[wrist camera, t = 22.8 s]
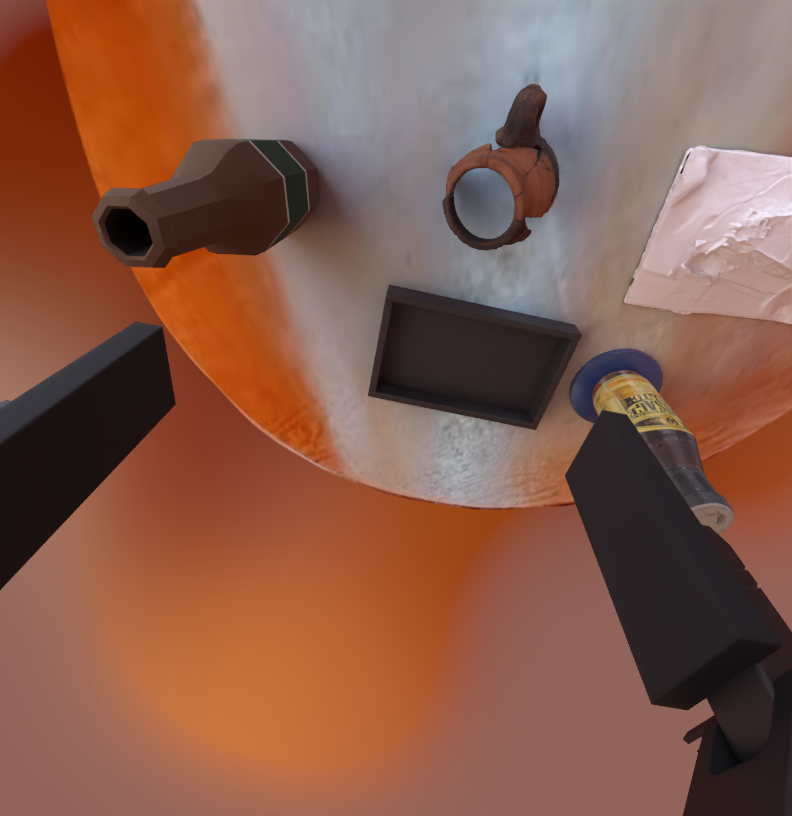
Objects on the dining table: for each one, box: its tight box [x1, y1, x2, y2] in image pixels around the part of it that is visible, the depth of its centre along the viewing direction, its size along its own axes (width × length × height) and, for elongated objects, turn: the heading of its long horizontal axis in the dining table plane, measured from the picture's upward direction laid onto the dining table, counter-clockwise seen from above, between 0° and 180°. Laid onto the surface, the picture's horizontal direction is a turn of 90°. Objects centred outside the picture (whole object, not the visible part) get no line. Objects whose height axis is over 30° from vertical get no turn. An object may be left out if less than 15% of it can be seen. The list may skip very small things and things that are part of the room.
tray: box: [368, 285, 582, 430], centre depth 46 cm, size 13×21×3 cm, turn 79°
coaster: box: [570, 349, 662, 423], centre depth 48 cm, size 10×10×1 cm
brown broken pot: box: [443, 84, 559, 250], centre depth 35 cm, size 12×9×8 cm
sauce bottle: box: [592, 370, 734, 534], centre depth 39 cm, size 6×6×20 cm
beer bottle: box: [92, 139, 319, 268], centre depth 29 cm, size 8×8×24 cm
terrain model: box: [623, 146, 792, 325], centre depth 37 cm, size 17×23×5 cm
